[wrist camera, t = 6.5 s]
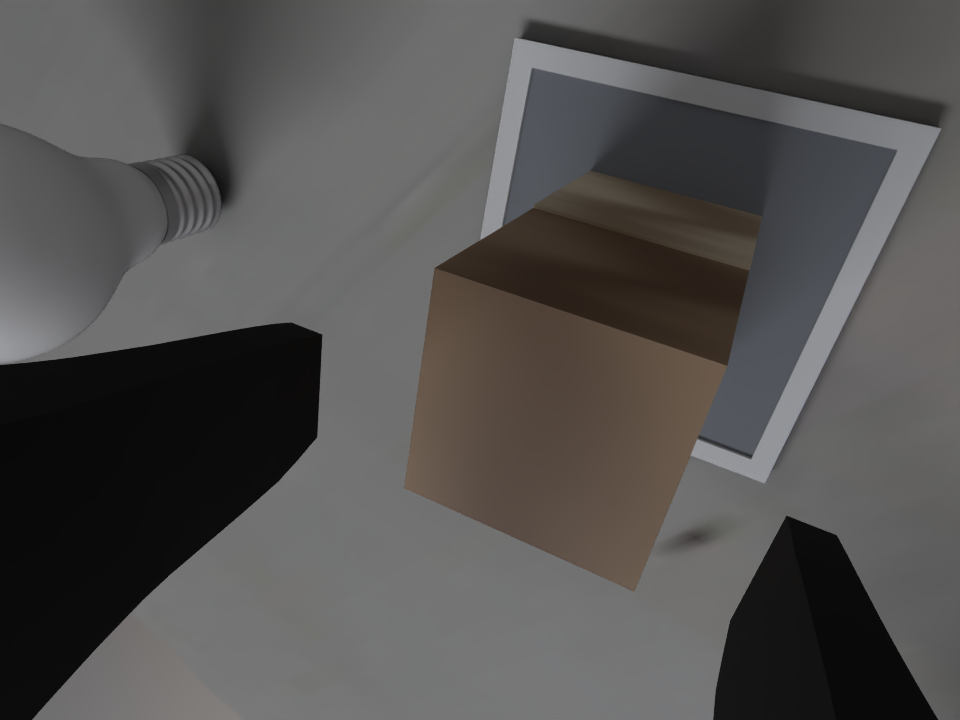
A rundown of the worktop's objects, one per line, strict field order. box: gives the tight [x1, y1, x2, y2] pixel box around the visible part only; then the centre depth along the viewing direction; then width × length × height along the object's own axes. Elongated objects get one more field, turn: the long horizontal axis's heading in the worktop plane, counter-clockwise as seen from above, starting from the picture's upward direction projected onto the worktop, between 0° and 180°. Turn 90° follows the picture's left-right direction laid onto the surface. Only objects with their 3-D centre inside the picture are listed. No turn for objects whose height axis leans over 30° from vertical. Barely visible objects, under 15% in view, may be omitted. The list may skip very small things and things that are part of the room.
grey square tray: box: [480, 38, 941, 483], centre depth 18 cm, size 10×10×1 cm
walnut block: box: [404, 208, 749, 591], centre depth 12 cm, size 4×4×4 cm
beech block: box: [533, 171, 762, 270], centre depth 16 cm, size 4×4×4 cm
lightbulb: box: [0, 124, 221, 364], centre depth 19 cm, size 6×6×11 cm
